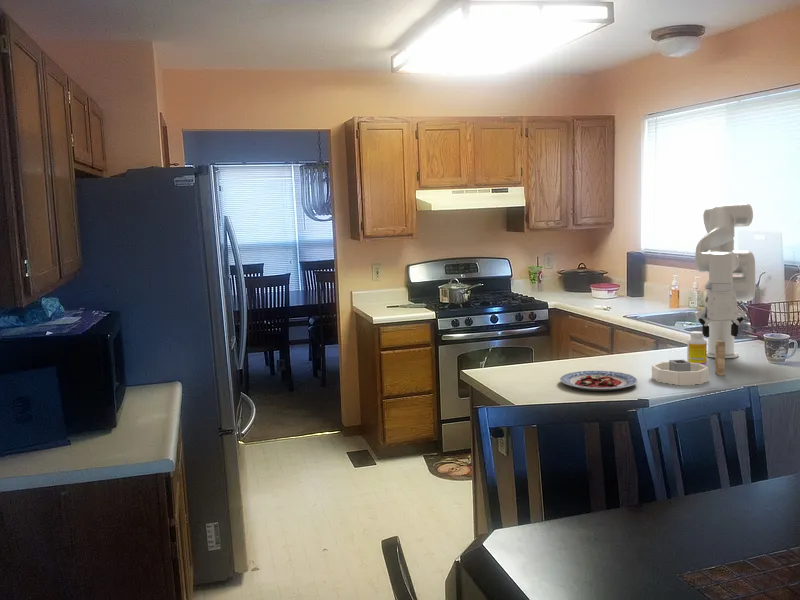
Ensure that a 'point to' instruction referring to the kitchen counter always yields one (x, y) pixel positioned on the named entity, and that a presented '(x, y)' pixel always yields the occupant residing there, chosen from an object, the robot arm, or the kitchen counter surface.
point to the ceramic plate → (599, 380)
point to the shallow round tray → (680, 372)
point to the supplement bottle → (697, 348)
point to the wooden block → (720, 357)
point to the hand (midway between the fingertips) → (720, 336)
